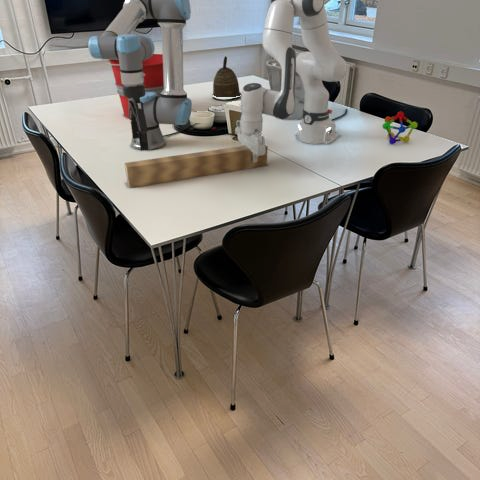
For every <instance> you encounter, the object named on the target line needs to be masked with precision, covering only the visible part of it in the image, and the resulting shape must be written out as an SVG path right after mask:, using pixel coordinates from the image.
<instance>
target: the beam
mask: <svg viewBox="0 0 480 480" xmlns="http://www.w3.org/2000/svg"><path fill="white" fill-rule="evenodd" d="M268 150H269V149H268V146H267V145H266V144H265V155H263V156H258V158H257V162H253V161H252V157H253V152H251V151H250V149H249V148H247V147H246V146H244V145H239V146H232V147H226V148H218V149H212V150H211V149H210V150H205V151H197V152H190V153H184V154H183V153H182V154H177V155H170V156H169V155H168V156H163V157H155V158H150V159H142V160H135V161H129V162H124V170H125V175H126V176H125V178H126V184H127V185H128V188H129V189H130V188H137V187H143V186H149V185H155V184H160V183H167V182H173V181H180V180H186V179H191V178H199V177H205V176H209V175H216V174H221V173H228V172H229V173H230V172H235V171H239V170H240V171H241V170H245V169H251V168H252V169H253V168H259V167H266V166H267V165H268Z"/></svg>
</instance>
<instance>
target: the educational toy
mask: <svg viewBox="0 0 480 480" xmlns="http://www.w3.org/2000/svg"><path fill="white" fill-rule="evenodd" d="M397 119H399V124H400V125H399V127H398V126H393V125H391V124H392V123H394V122H395V121H396V120H397ZM403 120H404V121H405V122H407V123H408V124H409V125H407V126H404V123H403ZM417 127H418V122H417V121H411V120H410V119H409V118H408V117H406V116H405V113H404V112H403V111H401V110H400V111H398V112H397V114H396V115H394V116H391V117H390V116H386V117H385V118H384V122H383V123H382V129H383V130H386V132H387V138H388V142H389V145H395V144H396V143H397V142H402V141H403V142H404V143H409V142H410V140H411V138H410V136H411V134H412V132H413V131H414V130H415V129H417ZM392 129H393V130H397V131H398V132H396V134H395V133H394V132H392ZM408 129H409V131H408V133H407V134H406V135H404V136H401V134H403V133H405V132H406V130H408ZM399 135H400V136H399Z"/></svg>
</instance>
